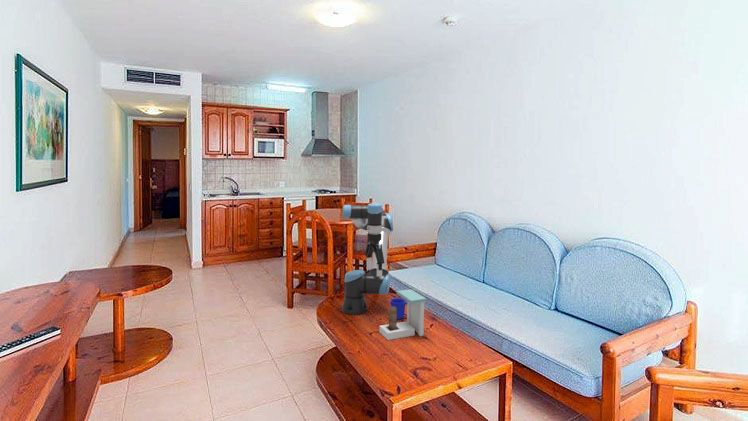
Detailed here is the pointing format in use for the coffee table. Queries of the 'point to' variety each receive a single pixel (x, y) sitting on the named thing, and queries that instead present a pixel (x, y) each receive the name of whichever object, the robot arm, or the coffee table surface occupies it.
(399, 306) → the mug
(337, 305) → the coffee table surface
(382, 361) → the coffee table surface
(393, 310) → the peg
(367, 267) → the robot arm
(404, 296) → the station
